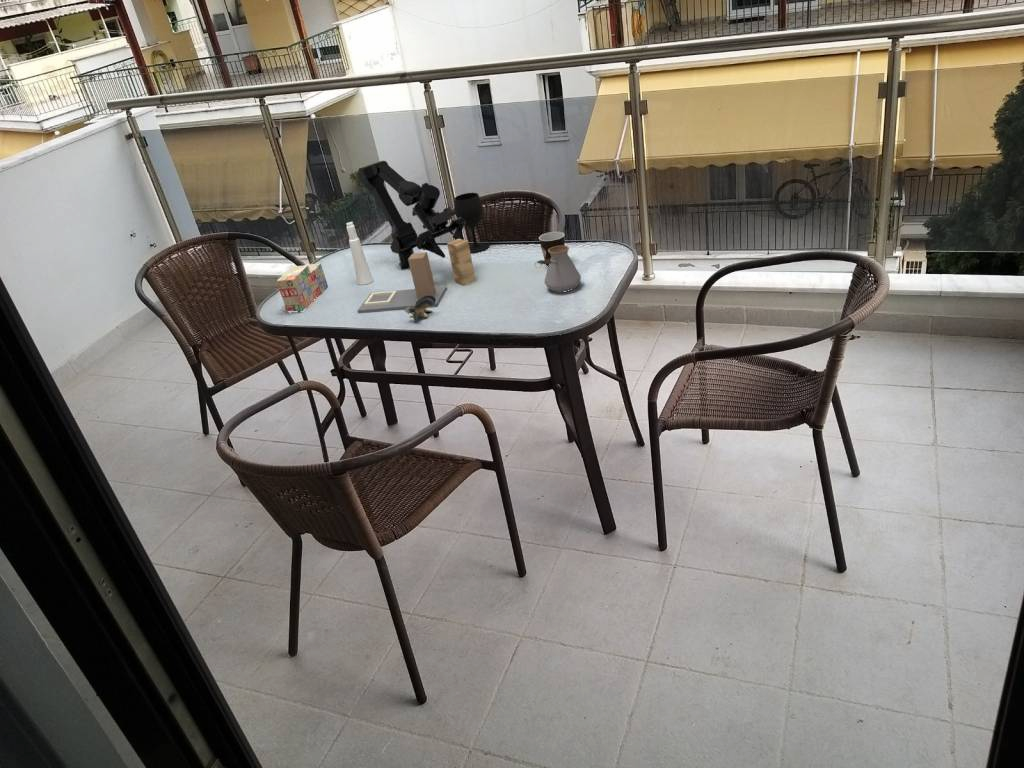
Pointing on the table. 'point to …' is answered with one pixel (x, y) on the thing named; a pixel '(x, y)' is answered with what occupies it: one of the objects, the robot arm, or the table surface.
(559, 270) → the coffee pot
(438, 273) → the table surface
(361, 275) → the cosmetic bottle
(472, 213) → the wine glass
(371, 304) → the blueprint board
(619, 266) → the table surface
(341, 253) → the table surface
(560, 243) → the coffee mug
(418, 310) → the chipmunk figurine
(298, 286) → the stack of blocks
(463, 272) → the oak block
